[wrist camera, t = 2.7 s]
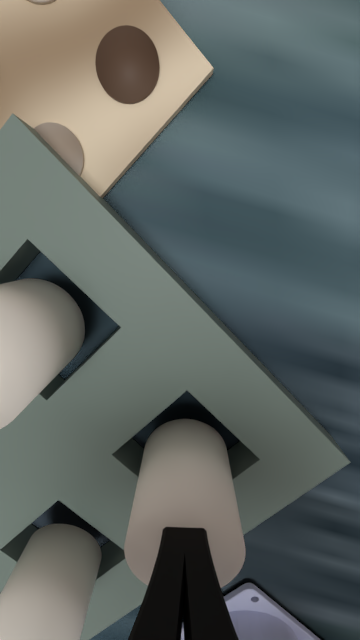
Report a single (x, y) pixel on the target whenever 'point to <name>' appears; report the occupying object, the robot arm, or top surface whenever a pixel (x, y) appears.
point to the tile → (96, 78)
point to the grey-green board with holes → (129, 380)
